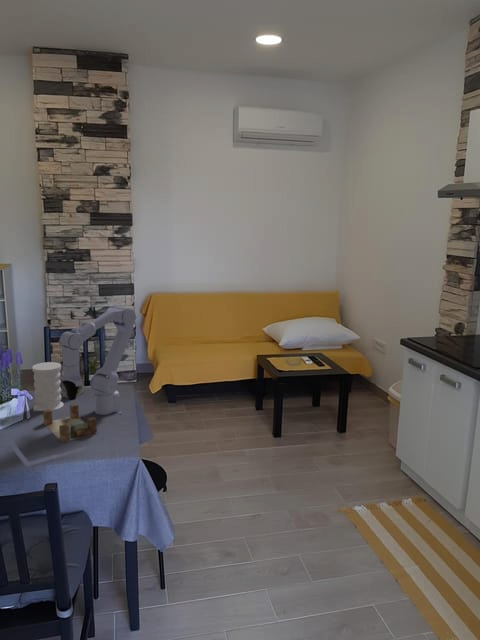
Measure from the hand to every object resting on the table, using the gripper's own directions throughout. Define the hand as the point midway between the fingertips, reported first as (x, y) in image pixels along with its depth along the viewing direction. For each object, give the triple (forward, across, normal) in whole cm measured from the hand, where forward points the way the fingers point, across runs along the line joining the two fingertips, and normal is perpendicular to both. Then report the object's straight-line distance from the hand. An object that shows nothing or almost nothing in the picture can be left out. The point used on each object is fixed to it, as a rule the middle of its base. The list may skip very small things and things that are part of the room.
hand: (72, 399), depth 185 cm
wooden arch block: (+9, +12, 0) cm, 15 cm away
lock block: (+9, +9, -2) cm, 13 cm away
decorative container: (+11, -22, -2) cm, 25 cm away
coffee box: (+10, -32, +12) cm, 36 cm away
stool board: (+10, +4, -2) cm, 11 cm away
